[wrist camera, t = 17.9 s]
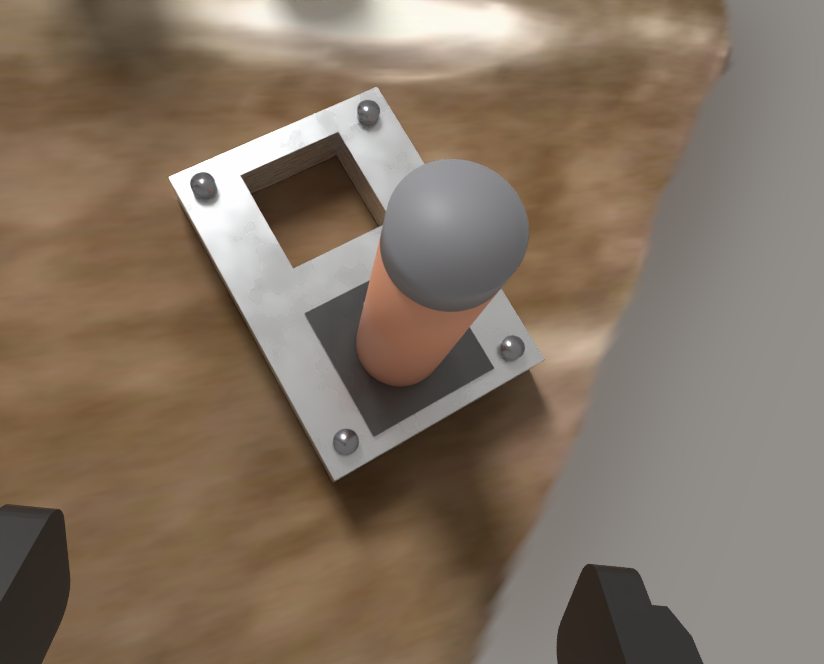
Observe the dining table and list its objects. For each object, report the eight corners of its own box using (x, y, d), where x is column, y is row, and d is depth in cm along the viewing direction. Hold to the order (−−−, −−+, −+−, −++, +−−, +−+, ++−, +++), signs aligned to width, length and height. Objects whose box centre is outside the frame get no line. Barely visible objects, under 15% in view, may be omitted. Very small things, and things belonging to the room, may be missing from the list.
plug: (340, 326, 40) (358, 195, 24) (415, 287, 42) (481, 137, 25) (383, 402, 40) (432, 320, 23) (458, 360, 41) (555, 254, 25)
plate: (177, 199, 44) (166, 172, 41) (372, 112, 48) (377, 81, 44) (333, 483, 41) (334, 480, 38) (529, 369, 45) (548, 357, 41)
